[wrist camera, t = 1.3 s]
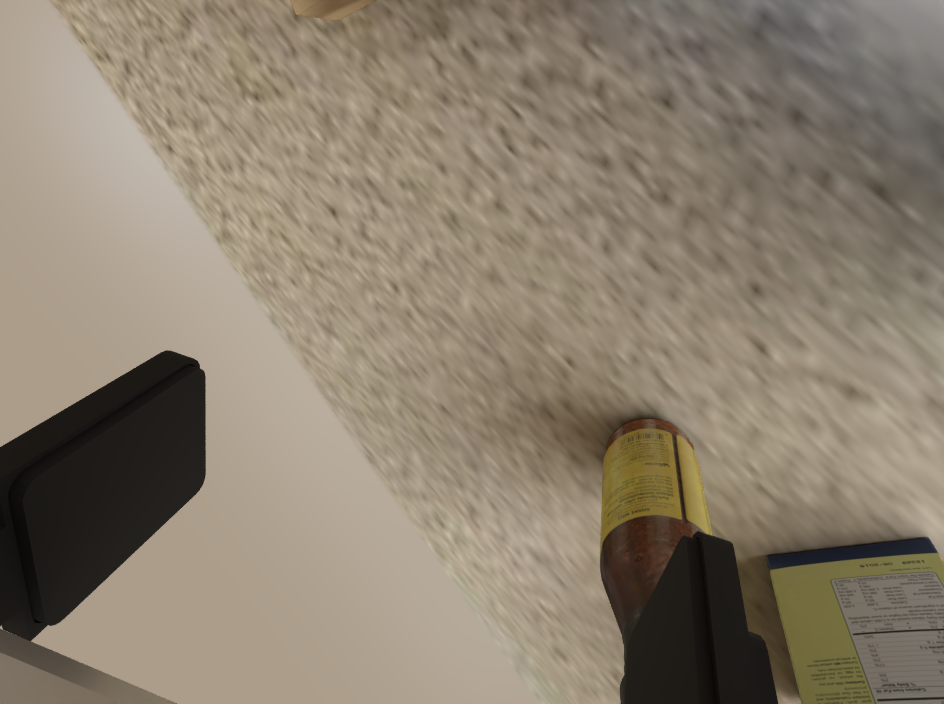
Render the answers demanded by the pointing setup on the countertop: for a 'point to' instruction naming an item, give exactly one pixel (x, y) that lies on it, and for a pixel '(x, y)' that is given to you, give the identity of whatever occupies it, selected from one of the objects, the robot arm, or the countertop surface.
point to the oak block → (328, 8)
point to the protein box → (864, 622)
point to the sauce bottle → (645, 514)
